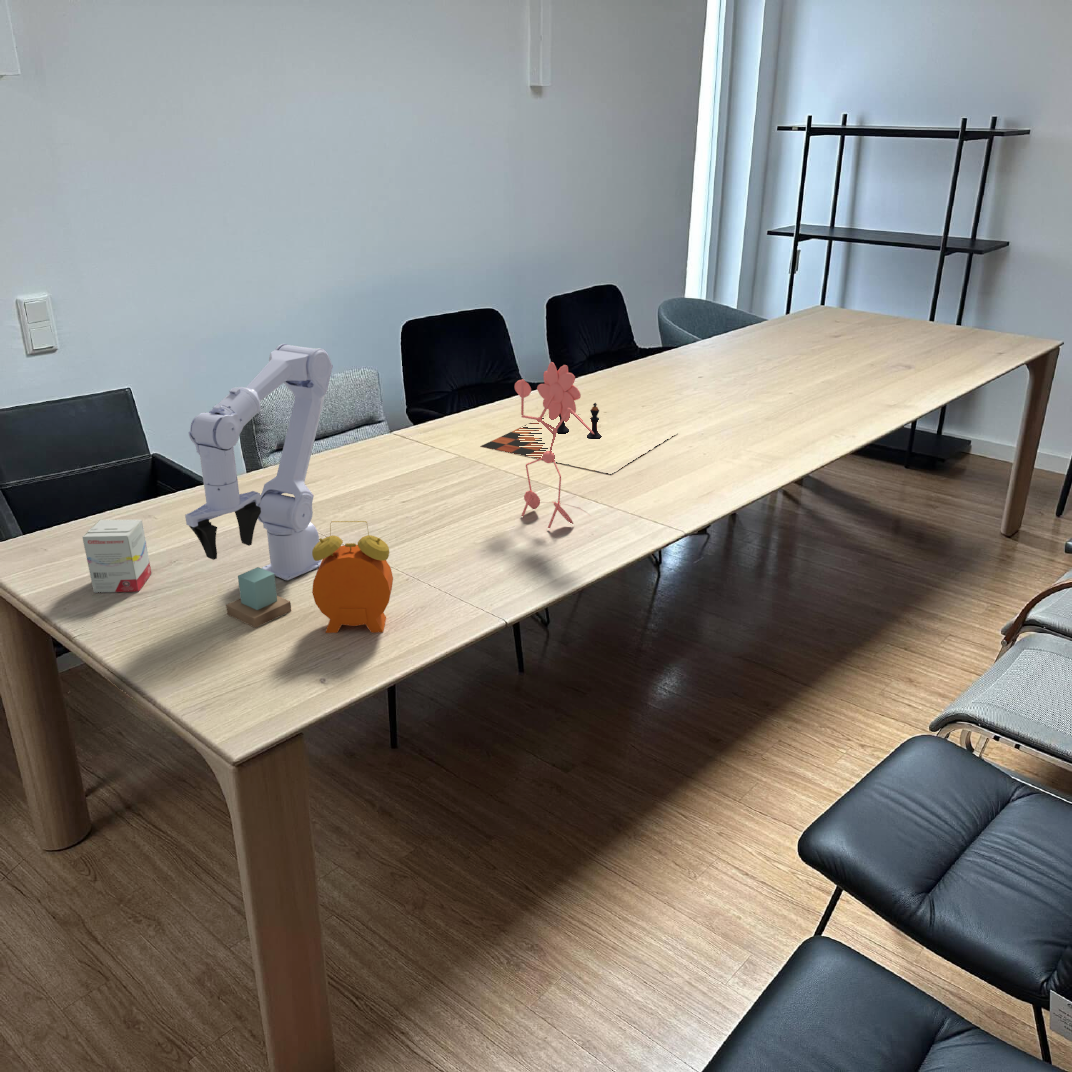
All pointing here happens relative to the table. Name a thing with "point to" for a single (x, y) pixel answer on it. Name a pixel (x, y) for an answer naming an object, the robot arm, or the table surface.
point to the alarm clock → (352, 581)
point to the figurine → (558, 401)
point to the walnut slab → (258, 611)
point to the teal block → (257, 588)
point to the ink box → (117, 555)
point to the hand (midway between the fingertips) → (229, 550)
